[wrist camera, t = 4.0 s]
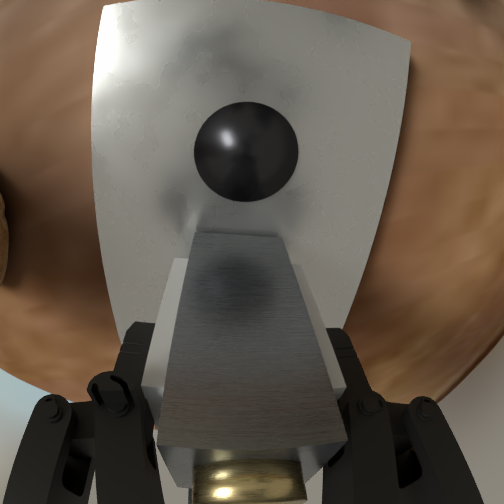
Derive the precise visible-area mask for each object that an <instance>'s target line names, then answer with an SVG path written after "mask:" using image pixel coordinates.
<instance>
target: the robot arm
mask: <svg viewBox="0 0 504 504" xmlns="http://www.w3.org/2000/svg"><path fill="white" fill-rule="evenodd" d="M187 263H188V259H186V258H174V260H173V264H172V267H171V270H170V274H169V277H168V281H167V284H166V288H165V291H164V295H163V298H162V302H161V305H160V309H159V313H158V317H157V320H156V323H148V322H138V321H135V322H134V323H133V324H132V325H131V326H130V327H129V328H128V329H127V331H126V334H125V337H124V339H123V344H122V345H121V348H120V353H119V355H118V358H117V361H116V364H115V367H114V371H108V372H102V373H100V374H98V375H96V376H94V378H93V379H92V380H91V381H90V382H89V384H88V387H87V392H88V394H89V395H90V397H91V399H92V401H87V402H75V403H69V402H68V401H67V400H66V399H65V398H64V397H62V396H60V395H56V394H50V395H46V396H44V397H43V398H41V399H40V400H39V401H38V402H37V404H36V405H35V407H34V410H33V412H32V415H31V417H30V420H29V422H28V425H27V427H26V430H25V432H24V435H23V438H22V440H21V443H20V446H19V449H18V452H17V455H16V458H15V461H14V464H13V467H12V471H11V474H10V478H9V481H8V484H7V489H6V492H5V496H4V500H3V504H88V500H89V495H90V490H91V485H92V480H93V476H94V471H95V476H96V491H97V503H98V504H165V503H164V498H163V493H162V487H161V481H160V475H159V469H158V463H157V455H156V448H155V441H154V438H153V428H154V425H155V427H156V429H158V428H159V420H160V413H161V405H162V398H163V391H164V385H165V378H166V372H167V366H168V360H169V354H170V348H171V343H172V337H173V332H174V326H175V321H176V316H177V311H178V306H179V301H180V296H181V291H182V286H183V282H184V277H185V272H186V268H187ZM292 267H293V270H294V272H295V275H296V278H297V281H298V284H299V287H300V290H301V293H302V296H303V298H304V301H305V304H306V307H307V310H308V313H309V316H310V319H311V322H312V325H313V328H314V331H315V334H316V337H317V340H318V343H319V347H320V350H321V353H322V356H323V359H324V362H325V365H326V368H327V372H328V375H329V378H330V381H331V384H332V388H333V391H334V394H335V397H336V401H337V404H338V407H339V411H340V414H341V417H342V421H343V424H344V428H345V431H346V434H347V438H348V441H347V442H346V443H345V444H344V445H343V446H342V447H341V448H340V449H339V450H338V452H337V453H336V454H335V455H334V456H333V457H332V458H331V459H330V460H329V461H328V462H327V463H326V464H325V465H324V466H323V490H322V491H323V492H322V504H484V503H483V500H482V498H481V495H480V492H479V490H478V488H477V485H476V483H475V480H474V478H473V476H472V473H471V471H470V469H469V466H468V464H467V462H466V460H465V458H464V456H463V453H462V451H461V449H460V447H459V445H458V443H457V441H456V439H455V437H454V435H453V433H452V431H451V429H450V427H449V425H448V423H447V421H446V419H445V417H444V415H443V413H442V411H441V409H440V408H439V406H438V405H437V403H436V402H435V401H434V400H432V399H431V398H428V397H425V396H420V397H416V398H415V399H413V400H412V401H411V402H410V404H400V403H391V402H387V401H385V399H384V398H383V397H382V396H381V395H380V394H378V393H376V392H375V391H372V390H371V388H370V386H369V383H368V381H367V378H366V376H365V373H364V371H363V368H362V366H361V364H360V361H359V359H358V358H357V354H356V352H355V349H353V345H352V342H351V340H350V338H349V336H348V335H347V334H346V333H345V332H344V331H343V330H342V329H341V328H325V326H324V323H323V320H322V318H321V315H320V312H319V310H318V307H317V305H316V302H315V299H314V297H313V294H312V292H311V289H310V287H309V284H308V281H307V279H306V276H305V274H304V271H303V269H302V266H301V265H298V264H292Z"/></svg>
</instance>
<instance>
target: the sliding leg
mask: <svg viewBox="0 0 504 504" xmlns="http://www.w3.org/2000/svg"><path fill="white" fill-rule="evenodd" d="M347 441H348V438H347V434H346V431H345V428H344V424H343V421H342V417H341V414H340V411H339V407H338V404H337V401H336V397H335V394H334V391H333V388H332V384H331V381H330V378H329V375H328V372H327V368H326V365H325V362H324V359H323V356H322V353H321V350H320V347H319V343H318V340H317V337H316V334H315V331H314V328H313V325H312V322H311V319H310V316H309V313H308V310H307V307H306V304H305V301H304V298H303V296H302V293H301V290H300V287H299V284H298V281H297V278H296V275H295V272H294V270H293V267H292V264H291V261H290V258H289V255H288V253H287V250H286V247H285V244H284V242H283V239H282V237H268V236H253V235H237V234H221V233H204V232H195V233H194V237H193V242H192V246H191V250H190V254H189V259H188V263H187V268H186V272H185V277H184V282H183V286H182V291H181V296H180V301H179V306H178V311H177V316H176V321H175V326H174V332H173V337H172V343H171V348H170V354H169V360H168V366H167V372H166V378H165V385H164V391H163V398H162V405H161V413H160V420H159V428H158V436H157V447H158V449H159V451H160V453H161V455H162V458H163V460H164V462H165V464H166V466H167V468H168V470H169V472H170V474H171V476H172V478H173V479H174V481H175V483H176V485H177V487H182V488H192V504H303V503H304V502H306V501H307V494H306V489H305V483H306V482H307V481H308V480H309V479H310V478H311V477H312V476H313V475H314V474H316V473H317V472H318V471H319V470H320V469H321V468H322V467H323V466H324V465H325V464H326V463H327V462H328V461H329V460H330V459H331V458H332V457H333V456H334V455H335V454H336V453H337V452H338V450H339V449H340V448H341V447H342V446H343V445H344V444H345V443H346V442H347Z"/></svg>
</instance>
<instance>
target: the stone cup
mask: <svg viewBox="0 0 504 504" xmlns="http://www.w3.org/2000/svg"><path fill="white" fill-rule="evenodd" d="M4 210H5V205H4V201H3V198H2V196H1V194H0V285H1V283H2V281H3V279H4V276H5V273H6V269H7V262H8V249H9V231H8V225H7V220H6V218H5V215H4Z"/></svg>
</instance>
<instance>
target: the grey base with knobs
mask: <svg viewBox="0 0 504 504" xmlns="http://www.w3.org/2000/svg"><path fill="white" fill-rule="evenodd" d="M410 48H411V42H410V41H408V40H406V39H404V38H401V37H399V36H396V35H394V34H391V33H389V32H386V31H384V30H381V29H378V28H376V27H373V26H370V25H367V24H364V23H361V22H358V21H355V20H352V19H348V18H345V17H342V16H338V15H334V14H331V13H327V12H323V11H319V10H314V9H310V8H305V7H300V6H295V5H289V4H283V3H277V2H270V1H263V0H138V1H131V2H124V3H118V4H112V5H107V6H104V7H103V12H102V17H101V22H100V28H99V35H98V41H97V49H96V57H95V67H94V78H93V92H92V117H91V148H92V174H93V189H94V201H95V211H96V220H97V228H98V236H99V243H100V249H101V256H102V262H103V267H104V273H105V278H106V283H107V288H108V293H109V298H110V302H111V306H112V311H113V315H114V319H115V323H116V327H117V331H118V335H119V338H120V342H121V345H122V344H123V339H124V337H125V334H126V331H127V329H128V328H129V327H130V326H131V325H132V324H133V323H134V322H135V321H138V322H148V323H156V320H157V317H158V313H159V309H160V305H161V302H162V298H163V295H164V291H165V288H166V284H167V281H168V277H169V274H170V270H171V267H172V264H173V260H174V258H186V259H189V254H190V250H191V246H192V242H193V237H194V233H195V232H204V233H221V234H237V235H253V236H268V237H282V239H283V242H284V244H285V247H286V250H287V253H288V255H289V258H290V261H291V264H298V265H301V266H302V269H303V271H304V274H305V276H306V279H307V281H308V284H309V287H310V289H311V292H312V294H313V297H314V299H315V302H316V305H317V307H318V310H319V312H320V315H321V318H322V320H323V323H324V326H325V328H341V329H343V326H344V324H345V321H346V319H347V316H348V313H349V311H350V308H351V306H352V303H353V300H354V298H355V295H356V292H357V289H358V286H359V284H360V281H361V278H362V275H363V272H364V269H365V266H366V263H367V260H368V257H369V254H370V250H371V247H372V244H373V241H374V237H375V234H376V231H377V227H378V224H379V220H380V216H381V213H382V209H383V205H384V201H385V198H386V194H387V190H388V185H389V181H390V177H391V173H392V168H393V164H394V159H395V154H396V149H397V144H398V139H399V133H400V128H401V122H402V116H403V110H404V103H405V96H406V88H407V80H408V71H409V60H410ZM188 498H189V499H188V501H189V502H188V504H192V488H189V496H188Z"/></svg>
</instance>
